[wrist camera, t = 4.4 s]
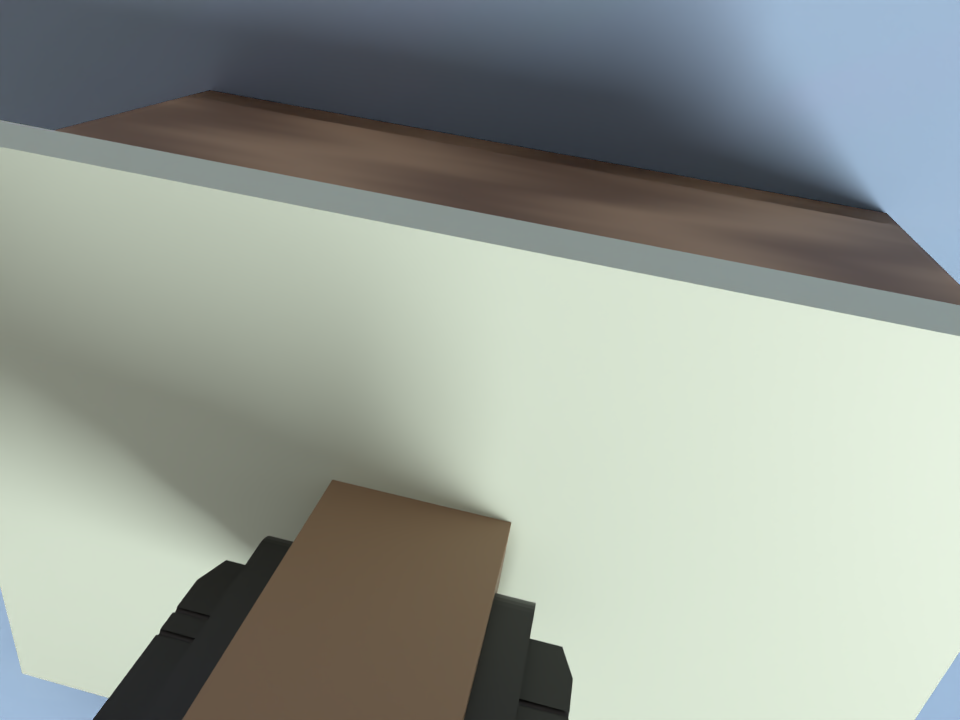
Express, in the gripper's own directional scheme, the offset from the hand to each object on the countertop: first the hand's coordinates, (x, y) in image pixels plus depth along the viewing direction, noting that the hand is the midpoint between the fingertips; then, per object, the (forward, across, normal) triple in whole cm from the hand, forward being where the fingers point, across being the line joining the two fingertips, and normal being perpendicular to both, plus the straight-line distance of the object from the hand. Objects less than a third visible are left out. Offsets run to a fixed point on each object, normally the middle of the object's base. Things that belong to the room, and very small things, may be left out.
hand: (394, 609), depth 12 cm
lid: (+2, 0, 0) cm, 2 cm away
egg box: (+9, 0, 0) cm, 9 cm away
